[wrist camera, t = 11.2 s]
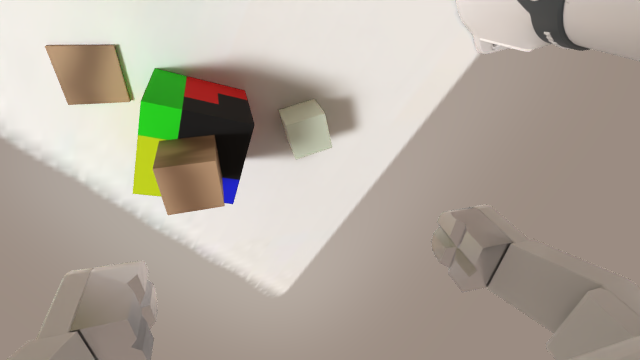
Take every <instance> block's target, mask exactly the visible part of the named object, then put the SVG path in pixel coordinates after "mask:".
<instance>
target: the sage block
mask: <svg viewBox="0 0 640 360" xmlns="http://www.w3.org/2000/svg"><path fill="white" fill-rule="evenodd" d="M279 114H280V117H281V120H282V123H283V127H284V130H285V133H286V137H287V140H288V143H289V145H290V147H291V150H292V152H293V154H294V157H295V159H299V158H302V157H305V156H308V155H311V154H314V153H317V152H320V151H323V150H326V149H329V148H332V144H331V139H330V135H329V130H328V125H327V120H326V116H325V113H324V111H323V110H322V108H321V107H320V106H319V104H318V103H317V102H316V100H315V99H312V100H308V101H305V102H302V103H299V104H296V105H293V106H289V107H286V108H283V109H280V110H279Z"/></svg>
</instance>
